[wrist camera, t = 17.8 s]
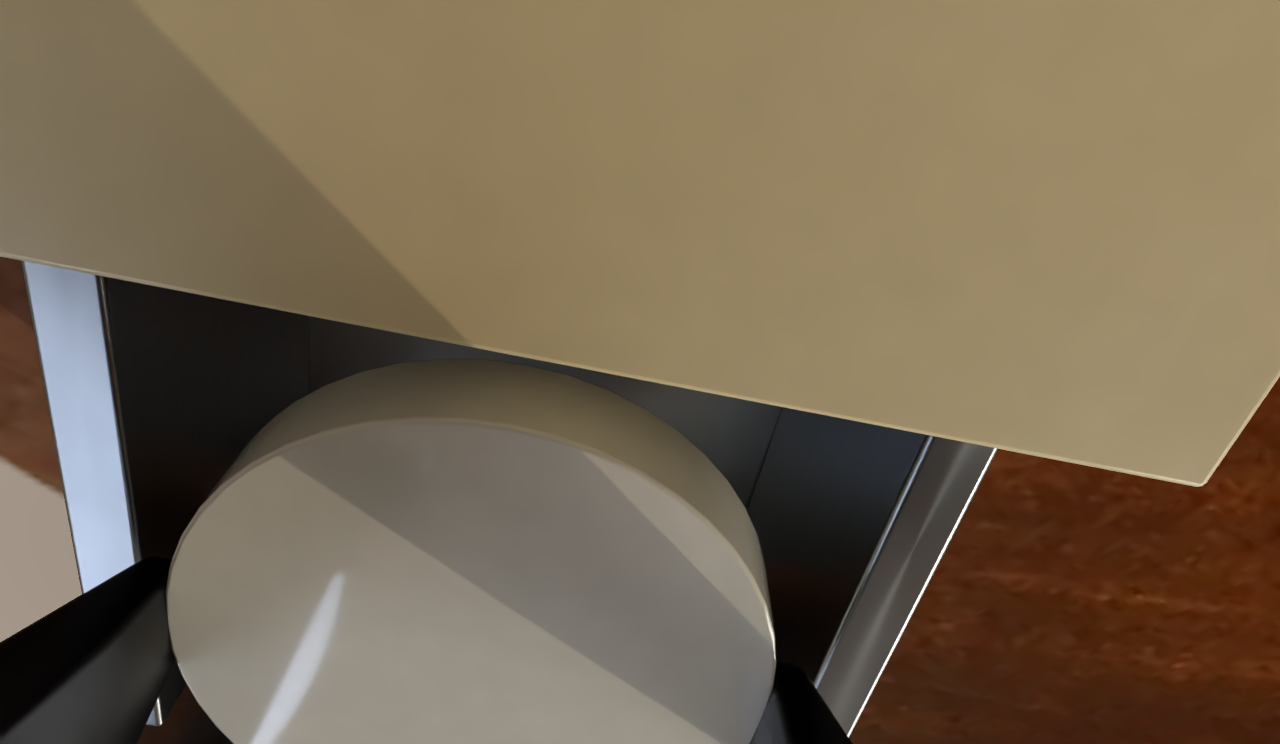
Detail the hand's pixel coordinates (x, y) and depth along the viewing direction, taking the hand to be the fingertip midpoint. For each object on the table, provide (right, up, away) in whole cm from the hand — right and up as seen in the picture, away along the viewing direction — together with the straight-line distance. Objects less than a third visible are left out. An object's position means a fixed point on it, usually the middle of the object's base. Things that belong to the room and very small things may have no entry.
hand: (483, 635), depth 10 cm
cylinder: (0, +1, +1) cm, 1 cm away
